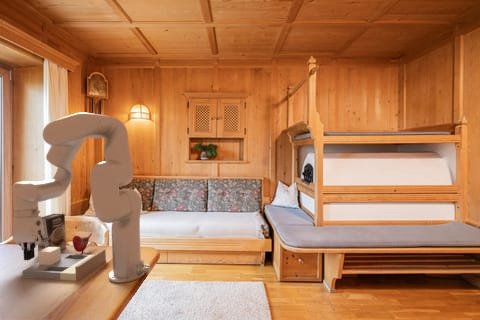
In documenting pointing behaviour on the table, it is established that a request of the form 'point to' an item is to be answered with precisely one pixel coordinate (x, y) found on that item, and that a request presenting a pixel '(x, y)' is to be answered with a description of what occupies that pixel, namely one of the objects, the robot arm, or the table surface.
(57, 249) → the cream block
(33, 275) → the board
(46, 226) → the coffee box
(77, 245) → the decorative bird figurine
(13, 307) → the table surface
